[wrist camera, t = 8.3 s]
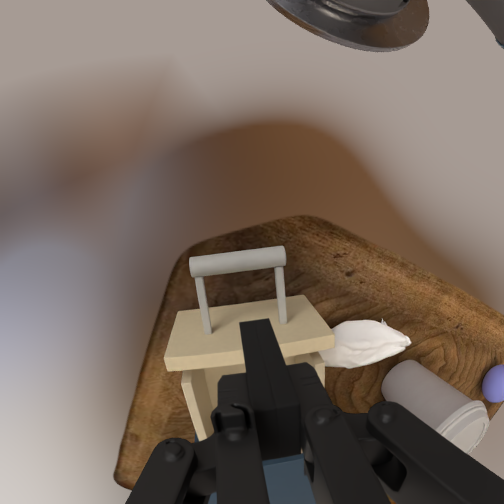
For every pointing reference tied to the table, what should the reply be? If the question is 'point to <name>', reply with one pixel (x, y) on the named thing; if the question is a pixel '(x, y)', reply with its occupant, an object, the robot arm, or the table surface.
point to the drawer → (228, 331)
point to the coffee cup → (437, 404)
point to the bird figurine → (363, 344)
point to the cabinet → (283, 481)
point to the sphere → (494, 384)
